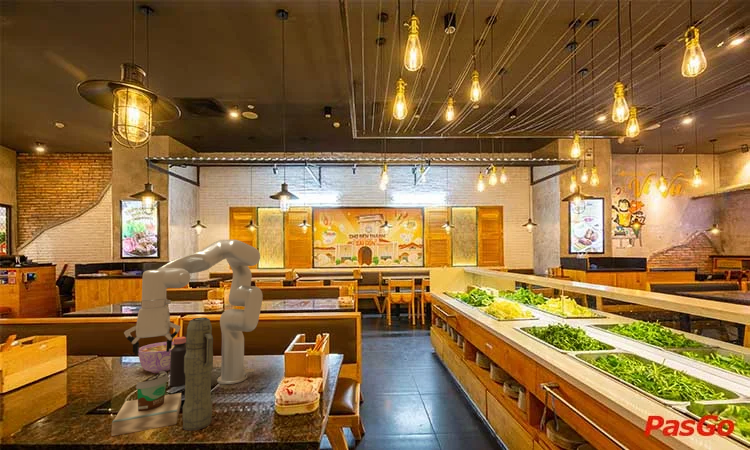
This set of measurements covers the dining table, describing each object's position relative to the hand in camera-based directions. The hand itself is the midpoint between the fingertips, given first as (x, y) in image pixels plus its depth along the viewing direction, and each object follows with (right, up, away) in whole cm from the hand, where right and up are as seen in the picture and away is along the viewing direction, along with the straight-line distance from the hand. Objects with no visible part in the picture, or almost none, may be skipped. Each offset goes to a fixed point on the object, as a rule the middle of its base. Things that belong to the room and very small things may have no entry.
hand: (152, 352), depth 126 cm
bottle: (-8, -25, +30) cm, 40 cm away
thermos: (+20, -22, -7) cm, 30 cm away
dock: (0, -22, -2) cm, 22 cm away
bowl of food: (-27, -27, +49) cm, 62 cm away
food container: (+2, -18, -1) cm, 19 cm away
